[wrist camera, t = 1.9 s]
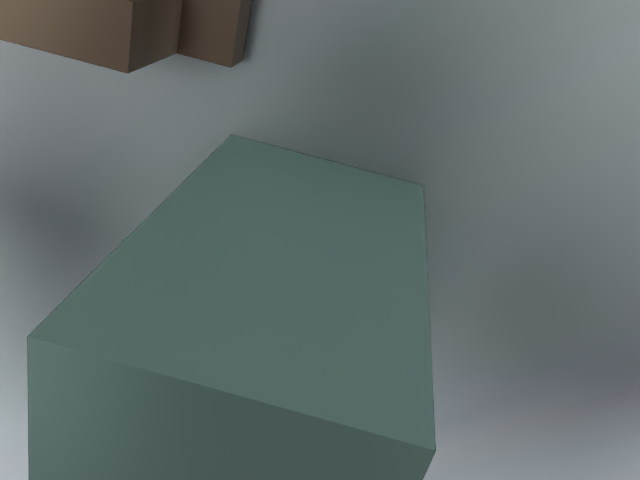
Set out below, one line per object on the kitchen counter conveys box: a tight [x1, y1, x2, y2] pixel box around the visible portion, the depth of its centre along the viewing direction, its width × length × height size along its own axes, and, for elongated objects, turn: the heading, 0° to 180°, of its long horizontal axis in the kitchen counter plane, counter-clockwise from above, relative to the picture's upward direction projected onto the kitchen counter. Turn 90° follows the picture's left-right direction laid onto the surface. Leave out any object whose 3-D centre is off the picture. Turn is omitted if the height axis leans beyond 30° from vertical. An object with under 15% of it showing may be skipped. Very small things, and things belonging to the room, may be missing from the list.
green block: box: [27, 134, 436, 480], centre depth 10 cm, size 4×4×7 cm
